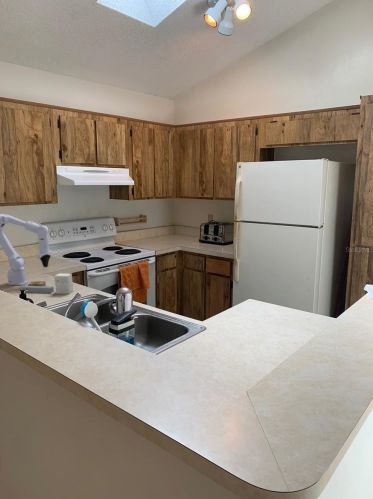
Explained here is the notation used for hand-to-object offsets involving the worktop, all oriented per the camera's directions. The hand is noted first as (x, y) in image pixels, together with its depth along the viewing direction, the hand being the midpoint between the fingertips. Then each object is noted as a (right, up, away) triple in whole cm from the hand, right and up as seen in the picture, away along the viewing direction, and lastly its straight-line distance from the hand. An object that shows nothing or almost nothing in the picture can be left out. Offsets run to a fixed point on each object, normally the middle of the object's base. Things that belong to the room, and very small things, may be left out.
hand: (45, 266), depth 234 cm
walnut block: (-1, -13, -12) cm, 17 cm away
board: (+2, -14, -17) cm, 22 cm away
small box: (+18, -14, -19) cm, 29 cm away
